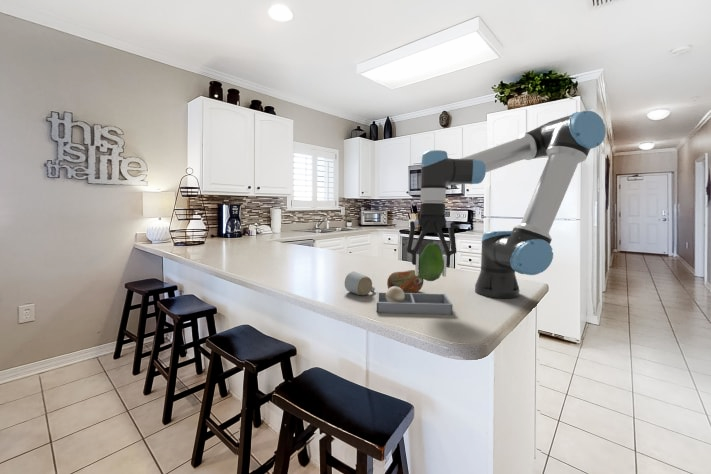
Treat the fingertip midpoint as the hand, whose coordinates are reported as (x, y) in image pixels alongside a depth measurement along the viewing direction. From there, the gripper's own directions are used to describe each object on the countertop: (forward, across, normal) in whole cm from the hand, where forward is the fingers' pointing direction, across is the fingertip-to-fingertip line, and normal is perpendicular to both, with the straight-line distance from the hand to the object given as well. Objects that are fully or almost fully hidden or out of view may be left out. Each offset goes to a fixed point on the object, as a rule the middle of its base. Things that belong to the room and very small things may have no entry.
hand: (430, 275), depth 103 cm
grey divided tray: (+11, +5, 0) cm, 12 cm away
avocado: (+2, 0, 0) cm, 2 cm away
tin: (+11, +6, -17) cm, 21 cm away
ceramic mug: (+11, +23, -16) cm, 30 cm away
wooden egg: (+7, +11, 0) cm, 13 cm away
